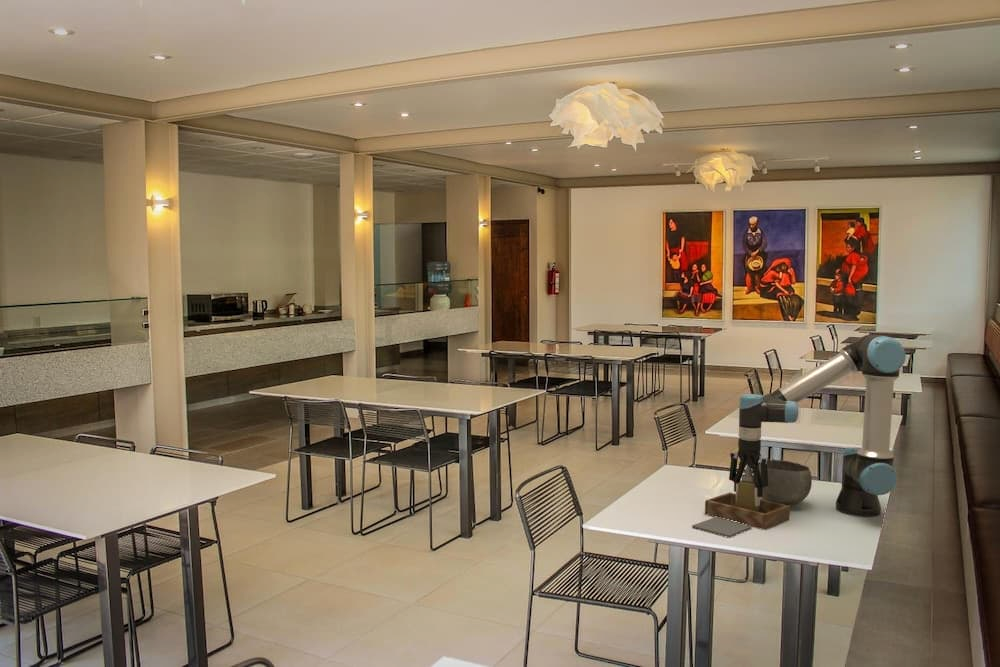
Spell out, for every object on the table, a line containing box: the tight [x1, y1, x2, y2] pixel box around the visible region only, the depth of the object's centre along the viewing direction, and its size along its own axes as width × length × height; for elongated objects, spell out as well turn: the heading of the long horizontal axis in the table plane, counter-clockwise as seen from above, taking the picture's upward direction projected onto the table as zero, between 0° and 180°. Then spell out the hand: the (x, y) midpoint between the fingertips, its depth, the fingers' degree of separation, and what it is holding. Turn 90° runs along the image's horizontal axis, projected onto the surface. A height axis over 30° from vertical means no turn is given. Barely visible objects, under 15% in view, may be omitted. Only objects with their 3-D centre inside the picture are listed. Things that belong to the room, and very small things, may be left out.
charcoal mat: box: [691, 517, 752, 538], centre depth 278 cm, size 14×14×1 cm
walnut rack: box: [704, 491, 791, 531], centre depth 291 cm, size 23×16×5 cm
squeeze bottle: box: [736, 465, 760, 512], centre depth 290 cm, size 8×8×18 cm
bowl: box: [758, 459, 813, 506], centre depth 308 cm, size 20×20×15 cm
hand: (747, 503), depth 291 cm, fingers closed on squeeze bottle, 6 cm apart
